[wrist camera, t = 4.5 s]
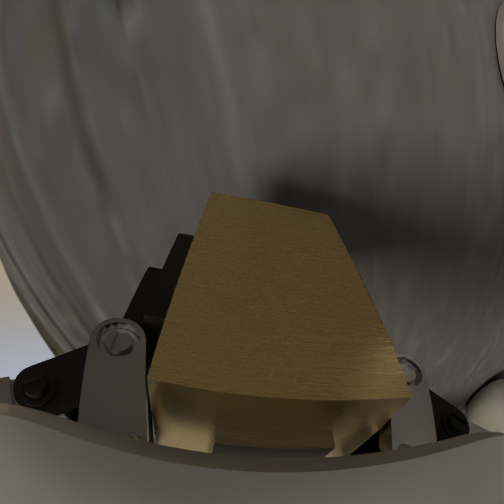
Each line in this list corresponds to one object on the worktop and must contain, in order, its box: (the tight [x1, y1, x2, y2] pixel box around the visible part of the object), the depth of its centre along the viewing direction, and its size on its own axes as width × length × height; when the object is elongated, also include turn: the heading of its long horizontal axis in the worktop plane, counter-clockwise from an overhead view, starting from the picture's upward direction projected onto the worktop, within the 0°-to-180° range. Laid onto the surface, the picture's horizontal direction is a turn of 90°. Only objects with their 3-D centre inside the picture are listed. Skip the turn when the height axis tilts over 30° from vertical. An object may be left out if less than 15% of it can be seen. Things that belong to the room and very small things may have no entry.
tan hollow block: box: [147, 192, 412, 458], centre depth 9 cm, size 4×4×8 cm
